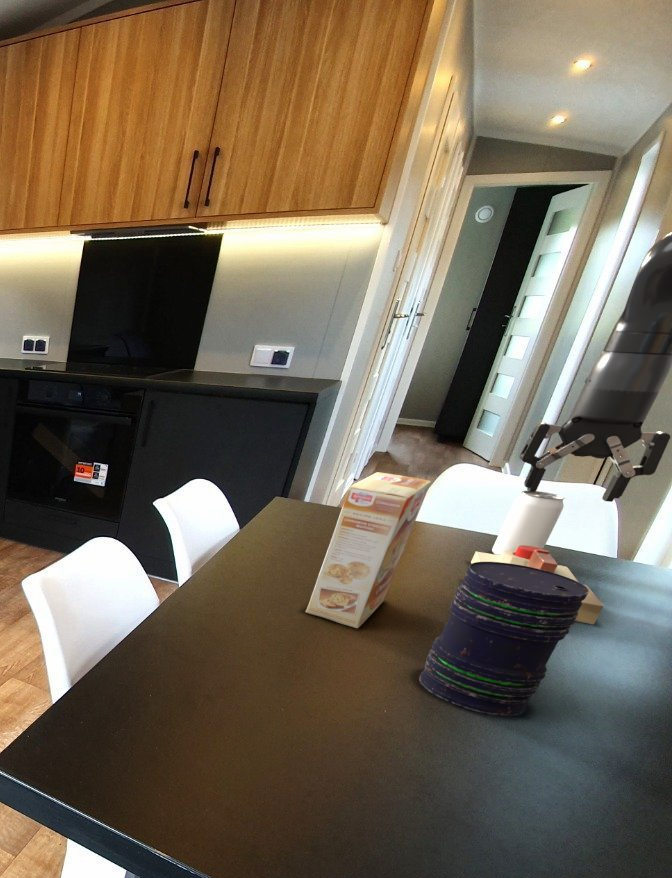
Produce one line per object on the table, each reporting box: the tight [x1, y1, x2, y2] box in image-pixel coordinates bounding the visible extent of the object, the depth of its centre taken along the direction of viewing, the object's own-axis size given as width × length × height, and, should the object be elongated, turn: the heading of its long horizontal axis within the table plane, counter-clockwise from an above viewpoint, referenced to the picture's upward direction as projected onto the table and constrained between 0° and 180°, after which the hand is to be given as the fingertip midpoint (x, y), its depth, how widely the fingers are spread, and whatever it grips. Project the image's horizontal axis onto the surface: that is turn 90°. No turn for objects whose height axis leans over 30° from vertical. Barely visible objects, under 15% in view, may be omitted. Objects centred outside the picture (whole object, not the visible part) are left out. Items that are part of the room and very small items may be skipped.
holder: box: [527, 549, 559, 573], centre depth 98 cm, size 7×2×5 cm, turn 144°
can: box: [491, 490, 565, 556], centre depth 117 cm, size 6×6×12 cm
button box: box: [470, 550, 579, 582], centre depth 109 cm, size 12×9×4 cm
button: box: [515, 545, 545, 560], centre depth 108 cm, size 4×4×2 cm
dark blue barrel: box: [418, 562, 589, 717], centre depth 73 cm, size 10×10×15 cm
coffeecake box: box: [305, 471, 433, 629], centre depth 93 cm, size 15×7×20 cm, turn 131°
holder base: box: [465, 573, 604, 625], centre depth 100 cm, size 14×11×3 cm
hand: (568, 495), depth 98 cm, fingers open, 8 cm apart
